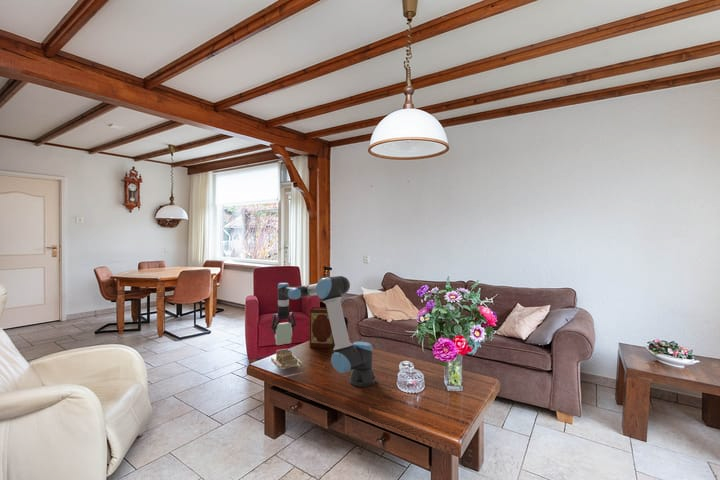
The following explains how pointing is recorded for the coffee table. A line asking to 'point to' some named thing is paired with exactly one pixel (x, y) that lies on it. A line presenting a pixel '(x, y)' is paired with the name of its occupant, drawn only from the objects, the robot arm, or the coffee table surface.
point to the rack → (285, 360)
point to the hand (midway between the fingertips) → (283, 337)
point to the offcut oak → (285, 354)
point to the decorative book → (320, 328)
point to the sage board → (283, 333)
